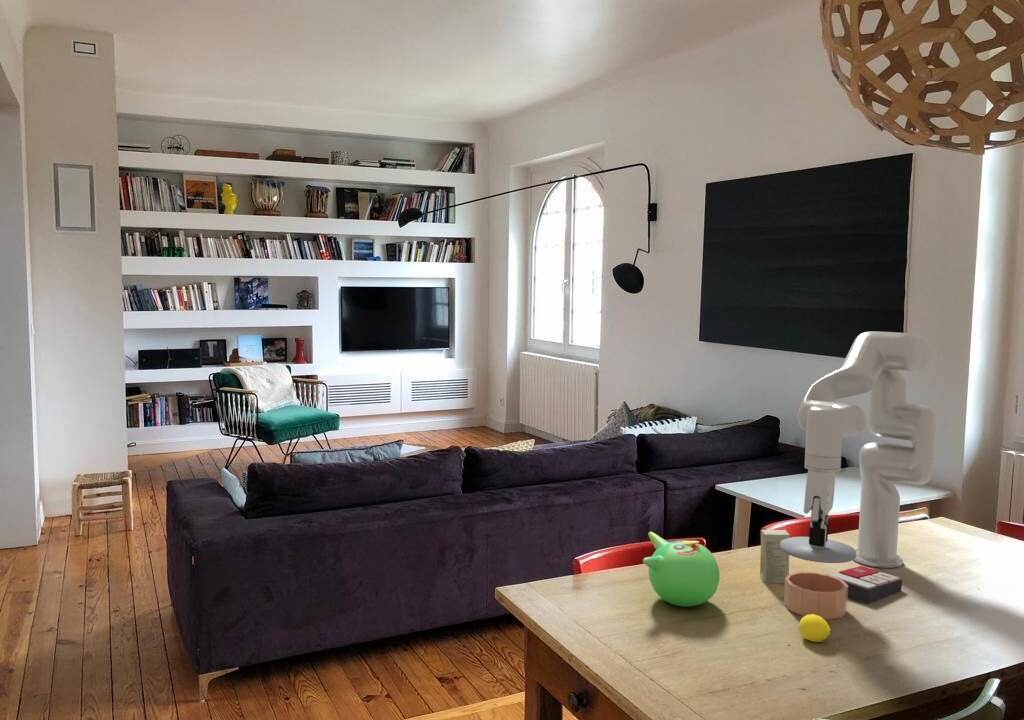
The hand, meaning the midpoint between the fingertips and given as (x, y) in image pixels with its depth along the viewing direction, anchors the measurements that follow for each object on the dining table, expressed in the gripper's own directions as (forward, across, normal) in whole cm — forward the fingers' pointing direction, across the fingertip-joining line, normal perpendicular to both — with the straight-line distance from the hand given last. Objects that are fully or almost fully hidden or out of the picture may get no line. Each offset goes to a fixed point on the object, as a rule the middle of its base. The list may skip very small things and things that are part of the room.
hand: (818, 542), depth 185 cm
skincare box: (+15, -13, -12) cm, 24 cm away
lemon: (+16, +18, +3) cm, 24 cm away
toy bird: (+16, +13, -27) cm, 34 cm away
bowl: (+15, 0, 0) cm, 15 cm away
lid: (+2, 0, 0) cm, 2 cm away
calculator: (+16, -18, +8) cm, 25 cm away
